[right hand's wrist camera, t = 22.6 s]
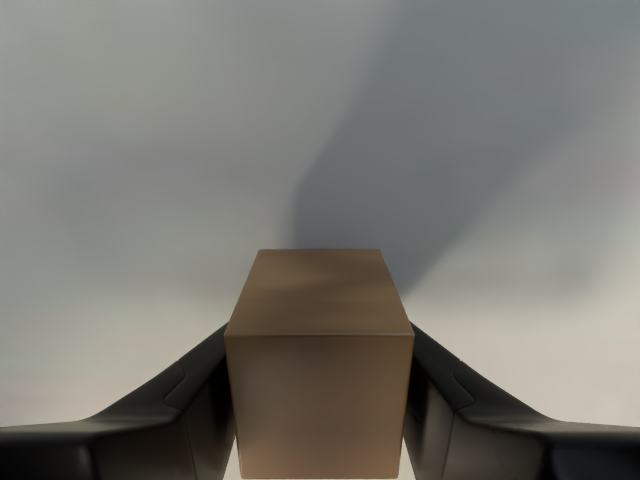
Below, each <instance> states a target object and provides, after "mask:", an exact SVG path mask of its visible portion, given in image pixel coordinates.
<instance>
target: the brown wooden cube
mask: <svg viewBox="0 0 640 480" xmlns="http://www.w3.org/2000/svg"><path fill="white" fill-rule="evenodd" d="M414 337H415V334H414V331H413V329H412V327H411V324H410V322H409V319H408V317H407V315H406V312H405V310H404V307H403V305H402V302H401V300H400V298H399V295H398V293H397V290H396V288H395V286H394V283H393V281H392V278H391V276H390V273H389V271H388V269H387V266H386V264H385V261H384V259H383V257H382V254H381V252H380V250H378V249H261V250H259V251H258V254H257V256H256V258H255V261H254V263H253V266H252V268H251V270H250V273H249V275H248V278H247V280H246V282H245V285H244V287H243V290H242V292H241V294H240V297H239V299H238V302H237V304H236V306H235V309H234V311H233V313H232V316H231V318H230V321H229V323H228V325H227V328H226V330H225V333H224V342H225V350H226V358H227V367H228V375H229V383H230V391H231V400H232V408H233V416H234V424H235V433H236V441H237V449H238V457H239V466H240V474H241V478H242V479H396V478H398V473H399V465H400V456H401V448H402V439H403V431H404V422H405V414H406V405H407V397H408V388H409V380H410V371H411V363H412V354H413V346H414Z"/></svg>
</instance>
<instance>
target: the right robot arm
mask: <svg viewBox="0 0 640 480" xmlns="http://www.w3.org/2000/svg"><path fill="white" fill-rule="evenodd" d="M409 322H410V321H409ZM228 323H229V322H227V323H226V324H225V325H224V326H222V327H221V328H220V329H218V330H217V331H216V332H214V333H213V334H212V335H210V336H209V337H208V338H206V339H205V340H204V341H202V342H201V343H200V344H198V345H197V346H196V347H194V348H193V349H192V350H191V351H189V352H188V353H187V354H185V355H184V356H183V357H181V358H180V359H179V360H178V361H176V362H175V363H173V364H172V365H171V366H169V367H168V368H167V369H165V370H164V371H162V372H161V373H160V374H158V375H157V376H155V377H154V378H152V379H151V380H149V381H148V382H146V383H145V384H143V385H142V386H140V387H139V388H137V389H136V390H134V391H132V392H131V393H129V394H128V395H126V396H125V397H123V398H121V399H120V400H118V401H117V402H115V403H114V404H112V405H110V406H109V407H107V408H106V409H104V410H102V411H101V412H99V413H97V414H95V415H93V416H91V417H89V418H86V419H83V420H79V421H73V422H61V423H48V424H35V425H22V426H9V427H0V480H223V477H224V474H225V470H226V467H227V463H228V460H229V456H230V453H231V449H232V446H233V443H234V439H235V436H236V433H235V424H234V416H233V408H232V400H231V391H230V383H229V375H228V367H227V358H226V350H225V342H224V333H225V330H226V328H227V325H228ZM410 324H411V327H412V329H413V331H414V334H415V337H414V346H413V354H412V363H411V371H410V380H409V388H408V397H407V405H406V414H405V422H404V431H403V437H404V440H405V444H406V447H407V451H408V454H409V458H410V461H411V465H412V468H413V472H414V475H415V479H416V480H640V427H629V426H616V425H603V424H590V423H577V422H565V421H559V420H555V419H552V418H549V417H547V416H545V415H543V414H541V413H539V412H537V411H536V410H534V409H532V408H531V407H529V406H528V405H526V404H525V403H523V402H521V401H520V400H518V399H517V398H515V397H514V396H512V395H511V394H509V393H507V392H506V391H504V390H503V389H501V388H500V387H498V386H496V385H495V384H493V383H492V382H490V381H489V380H487V379H486V378H484V377H483V376H482V375H480V374H479V373H477V372H476V371H475V370H473V369H472V368H471V367H469V366H468V365H467V364H465V363H464V362H463V361H460V359H459V358H457V357H456V356H455V355H453V354H452V353H451V352H449V351H448V350H447V349H445V348H444V347H443V346H442V345H440V344H439V343H438V342H436V341H435V340H434V339H432V338H431V337H430V336H428V335H427V334H426V333H424V332H423V331H422V330H421V329H419V328H418V327H417V326H415V325H414V324H413V323H411V322H410Z"/></svg>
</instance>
